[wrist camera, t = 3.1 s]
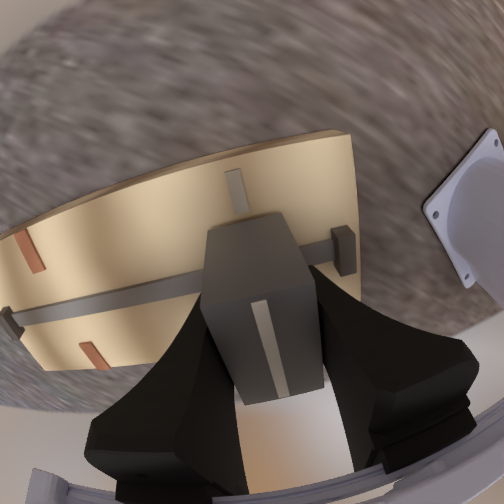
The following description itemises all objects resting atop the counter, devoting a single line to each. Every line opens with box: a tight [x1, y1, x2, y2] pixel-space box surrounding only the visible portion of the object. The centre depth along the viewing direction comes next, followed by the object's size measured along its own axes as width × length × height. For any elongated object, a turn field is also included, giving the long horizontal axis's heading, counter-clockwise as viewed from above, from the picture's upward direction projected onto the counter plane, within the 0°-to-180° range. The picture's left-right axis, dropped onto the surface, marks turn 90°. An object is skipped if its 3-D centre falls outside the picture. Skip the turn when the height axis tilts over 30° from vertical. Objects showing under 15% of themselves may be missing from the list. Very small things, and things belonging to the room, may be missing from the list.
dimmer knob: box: [200, 213, 324, 405], centre depth 11 cm, size 3×5×5 cm, turn 13°
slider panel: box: [0, 129, 361, 371], centre depth 14 cm, size 22×10×3 cm, turn 103°
